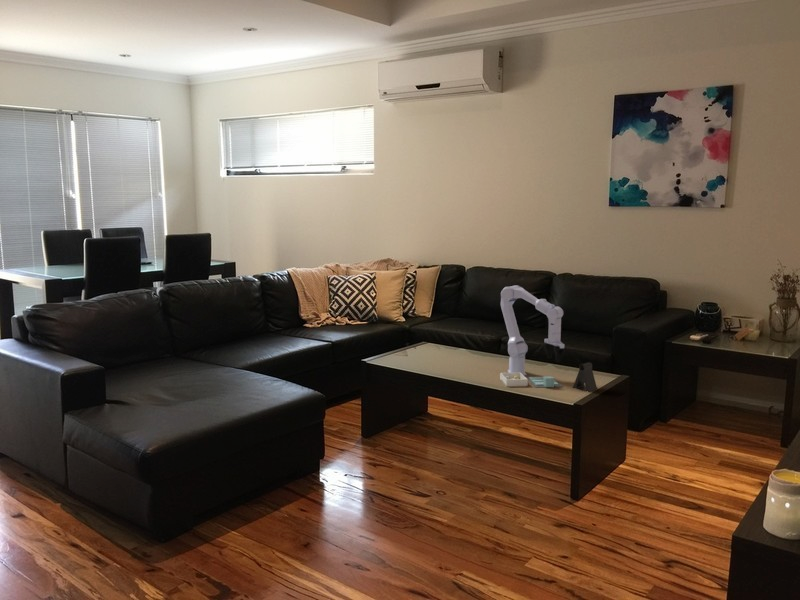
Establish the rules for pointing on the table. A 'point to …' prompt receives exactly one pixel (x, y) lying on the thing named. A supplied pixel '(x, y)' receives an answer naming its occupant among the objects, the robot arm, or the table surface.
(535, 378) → the lid
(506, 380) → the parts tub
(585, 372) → the phone stand
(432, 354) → the table surface
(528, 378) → the mat
